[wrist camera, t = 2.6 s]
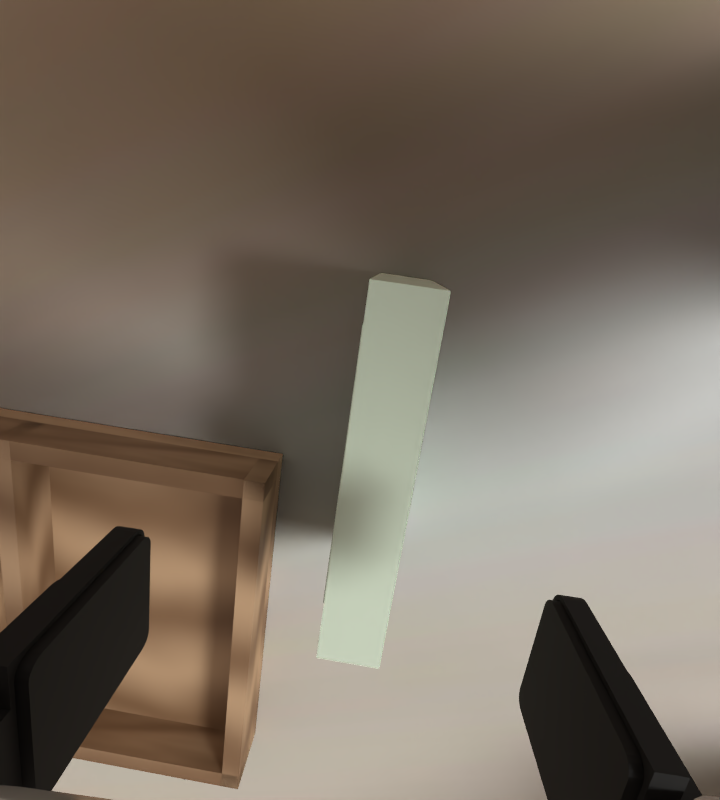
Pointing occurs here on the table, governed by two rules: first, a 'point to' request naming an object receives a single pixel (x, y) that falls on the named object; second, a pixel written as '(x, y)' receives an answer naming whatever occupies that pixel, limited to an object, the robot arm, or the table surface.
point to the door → (380, 462)
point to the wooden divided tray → (153, 577)
